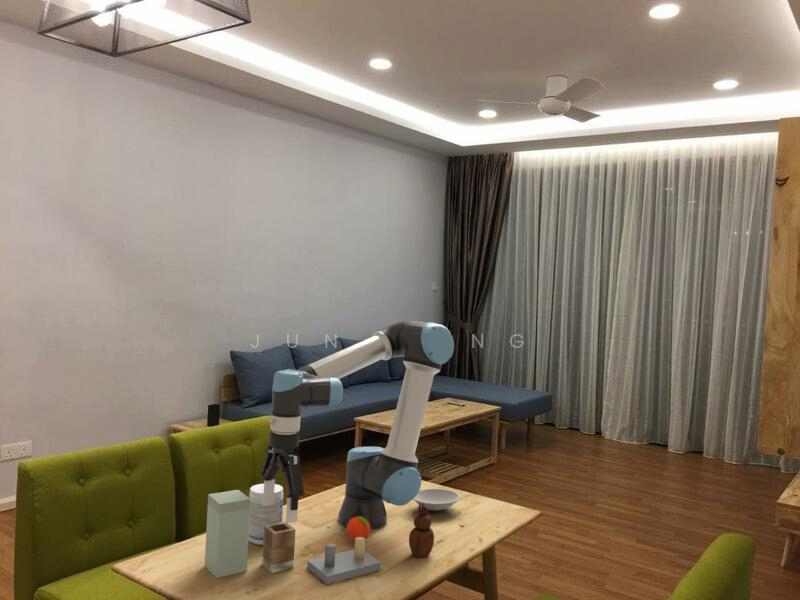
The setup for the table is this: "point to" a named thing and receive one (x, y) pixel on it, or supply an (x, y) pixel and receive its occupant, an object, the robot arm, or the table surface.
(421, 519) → the wooden figurine
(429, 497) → the dish
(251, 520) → the supplement tub
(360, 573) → the pin board
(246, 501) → the tower
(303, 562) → the table surface
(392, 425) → the robot arm
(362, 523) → the clementine
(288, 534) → the sleeve
